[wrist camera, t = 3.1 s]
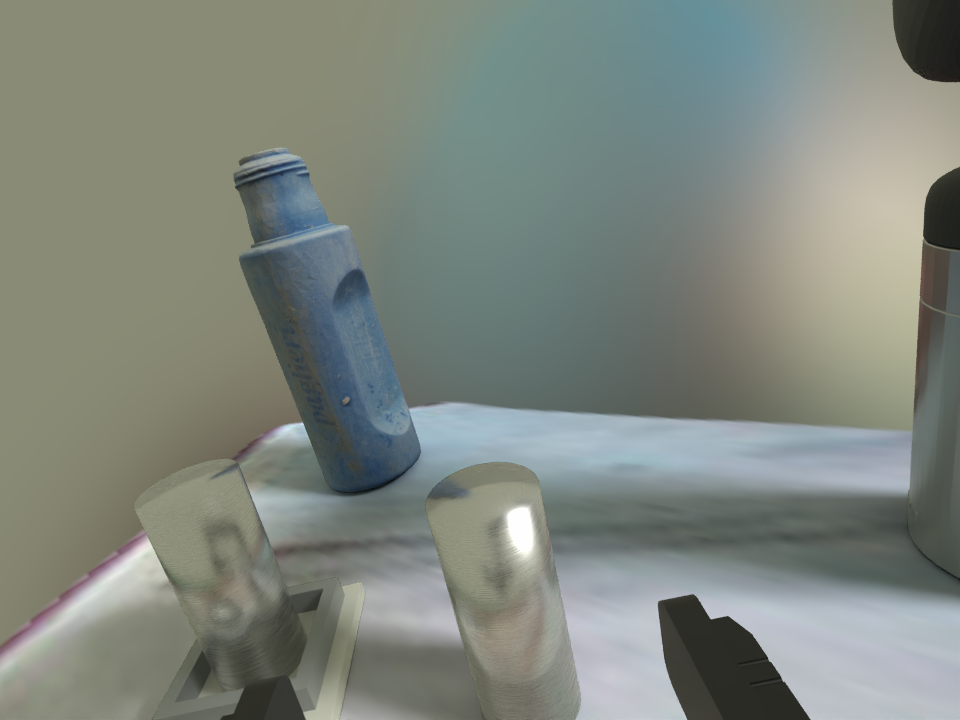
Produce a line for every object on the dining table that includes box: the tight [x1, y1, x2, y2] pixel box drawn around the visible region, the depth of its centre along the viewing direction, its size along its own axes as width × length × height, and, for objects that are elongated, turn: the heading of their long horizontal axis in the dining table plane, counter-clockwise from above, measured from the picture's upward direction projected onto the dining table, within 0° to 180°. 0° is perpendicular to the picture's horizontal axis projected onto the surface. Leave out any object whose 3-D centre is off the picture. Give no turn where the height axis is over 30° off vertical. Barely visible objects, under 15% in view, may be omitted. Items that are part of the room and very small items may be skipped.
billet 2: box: [425, 462, 581, 720], centre depth 25 cm, size 5×5×12 cm
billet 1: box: [134, 459, 307, 693], centre depth 29 cm, size 5×5×12 cm
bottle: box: [234, 148, 421, 492], centre depth 49 cm, size 10×10×30 cm
